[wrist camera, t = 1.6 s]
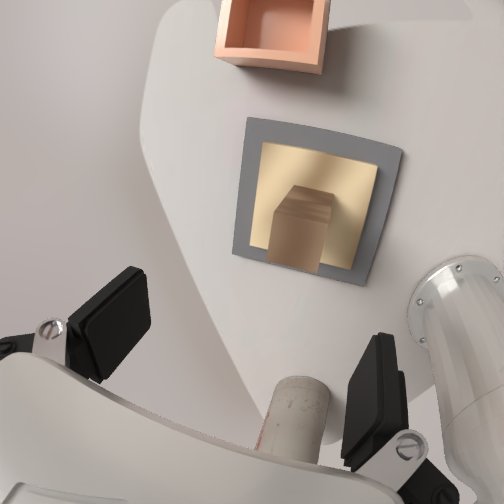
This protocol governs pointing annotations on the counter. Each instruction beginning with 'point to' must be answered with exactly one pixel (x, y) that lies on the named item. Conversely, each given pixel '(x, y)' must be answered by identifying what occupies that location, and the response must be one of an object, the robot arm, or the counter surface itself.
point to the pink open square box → (274, 34)
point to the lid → (310, 206)
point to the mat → (328, 143)
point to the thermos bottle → (295, 420)
